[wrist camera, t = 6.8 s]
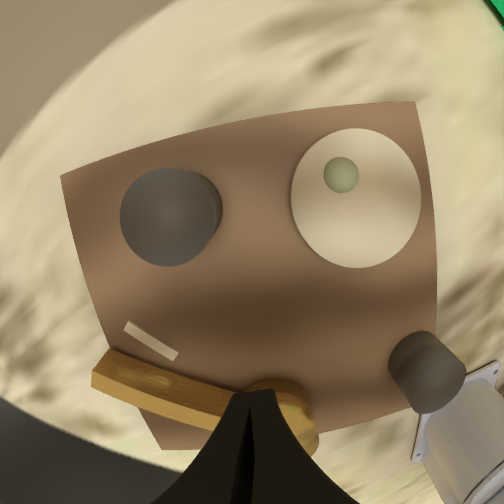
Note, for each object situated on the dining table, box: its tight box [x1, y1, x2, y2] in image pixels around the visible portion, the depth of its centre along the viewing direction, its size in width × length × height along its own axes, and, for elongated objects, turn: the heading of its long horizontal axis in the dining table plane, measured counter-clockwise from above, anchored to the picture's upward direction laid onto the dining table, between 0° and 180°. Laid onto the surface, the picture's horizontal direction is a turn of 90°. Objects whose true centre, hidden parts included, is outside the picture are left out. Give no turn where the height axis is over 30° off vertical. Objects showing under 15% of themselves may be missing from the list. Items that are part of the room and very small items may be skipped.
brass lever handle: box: [91, 348, 319, 457], centre depth 15 cm, size 12×4×3 cm, turn 71°
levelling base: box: [60, 102, 466, 450], centre depth 14 cm, size 19×19×5 cm
